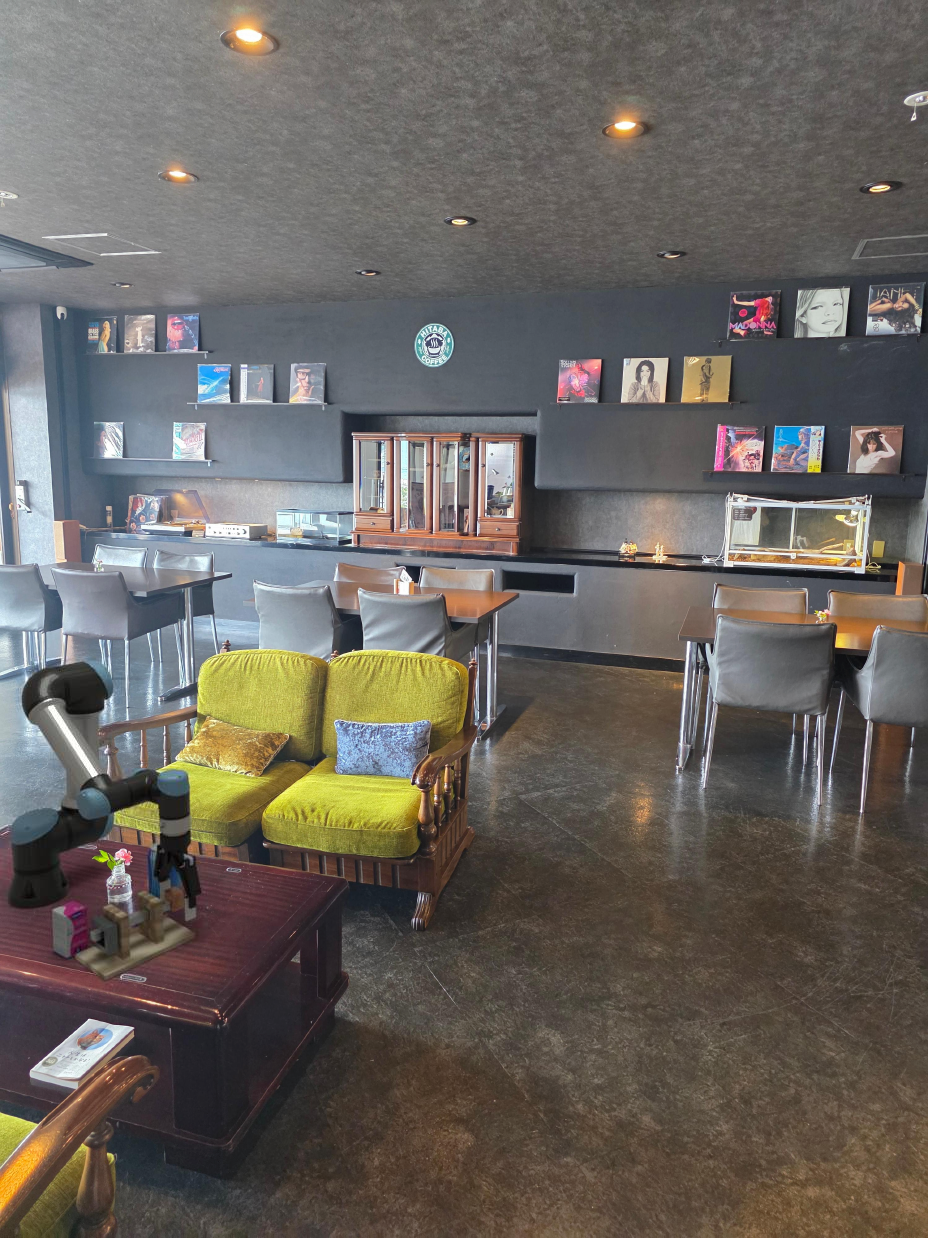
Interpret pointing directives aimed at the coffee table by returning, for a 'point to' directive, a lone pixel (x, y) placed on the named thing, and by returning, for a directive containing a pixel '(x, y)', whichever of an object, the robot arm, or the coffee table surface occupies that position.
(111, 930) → the spacer
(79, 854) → the coffee table surface
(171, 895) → the shaft
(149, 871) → the beer can
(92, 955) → the bearing stand
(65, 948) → the supplement box
